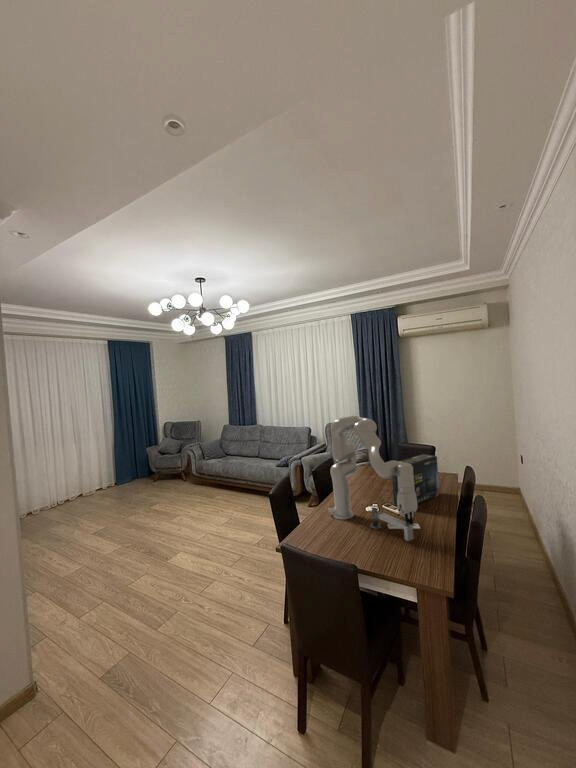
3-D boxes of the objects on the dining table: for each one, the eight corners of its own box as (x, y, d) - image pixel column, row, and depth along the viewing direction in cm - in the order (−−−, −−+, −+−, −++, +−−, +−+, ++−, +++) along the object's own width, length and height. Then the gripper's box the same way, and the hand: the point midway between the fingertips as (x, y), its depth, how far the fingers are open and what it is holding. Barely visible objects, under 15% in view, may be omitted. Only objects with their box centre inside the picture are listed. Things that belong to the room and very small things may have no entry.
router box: (408, 510, 183) (404, 466, 183) (392, 505, 192) (389, 463, 193) (441, 495, 203) (437, 455, 203) (425, 491, 212) (422, 453, 212)
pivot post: (370, 529, 163) (369, 510, 163) (369, 524, 169) (368, 506, 169) (382, 529, 162) (380, 510, 162) (380, 524, 168) (379, 506, 168)
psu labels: (388, 528, 162) (388, 527, 162) (387, 524, 167) (387, 523, 167) (420, 528, 160) (420, 527, 160) (417, 524, 165) (417, 523, 165)
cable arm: (375, 526, 163) (374, 513, 163) (381, 524, 165) (380, 510, 165) (407, 541, 145) (406, 526, 145) (413, 538, 148) (412, 523, 148)
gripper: (410, 483, 159) (413, 518, 158) (390, 490, 151) (393, 527, 151) (422, 487, 152) (425, 523, 152) (402, 494, 145) (405, 532, 145)
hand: (409, 525), depth 151 cm, fingers closed
